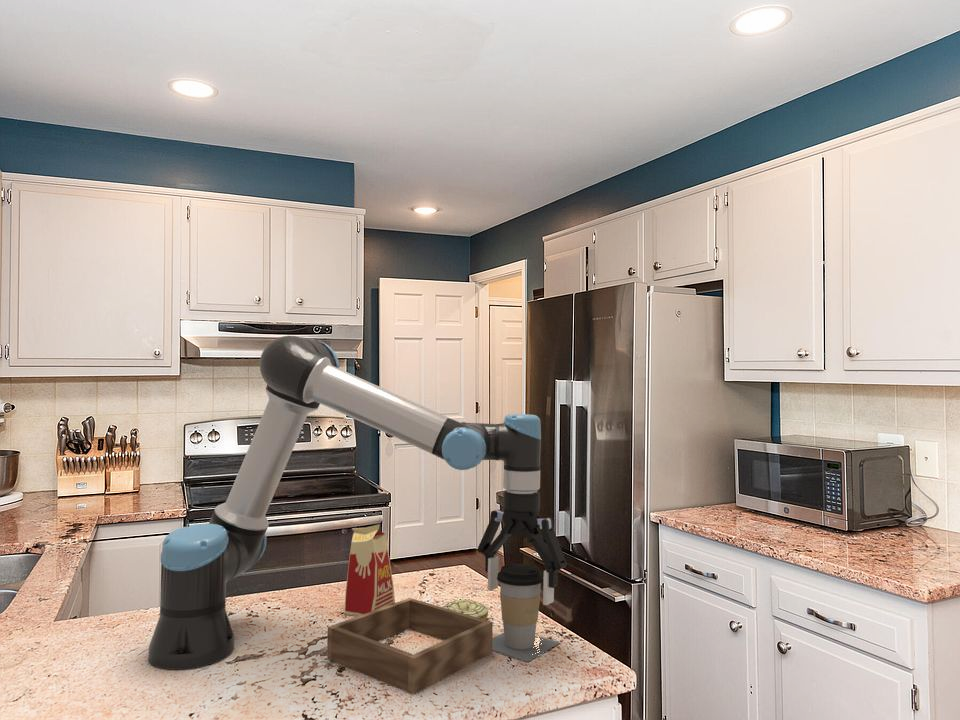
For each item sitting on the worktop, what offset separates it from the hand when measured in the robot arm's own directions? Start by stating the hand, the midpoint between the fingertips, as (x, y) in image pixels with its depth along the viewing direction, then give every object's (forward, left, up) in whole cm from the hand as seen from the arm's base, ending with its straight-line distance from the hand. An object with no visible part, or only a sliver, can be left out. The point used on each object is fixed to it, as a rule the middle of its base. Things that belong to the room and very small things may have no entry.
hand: (519, 596), depth 136 cm
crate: (-18, +13, -10) cm, 24 cm away
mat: (0, 0, -10) cm, 10 cm away
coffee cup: (0, 0, -10) cm, 10 cm away
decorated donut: (+3, +17, -10) cm, 20 cm away
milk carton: (-6, +38, -10) cm, 40 cm away
